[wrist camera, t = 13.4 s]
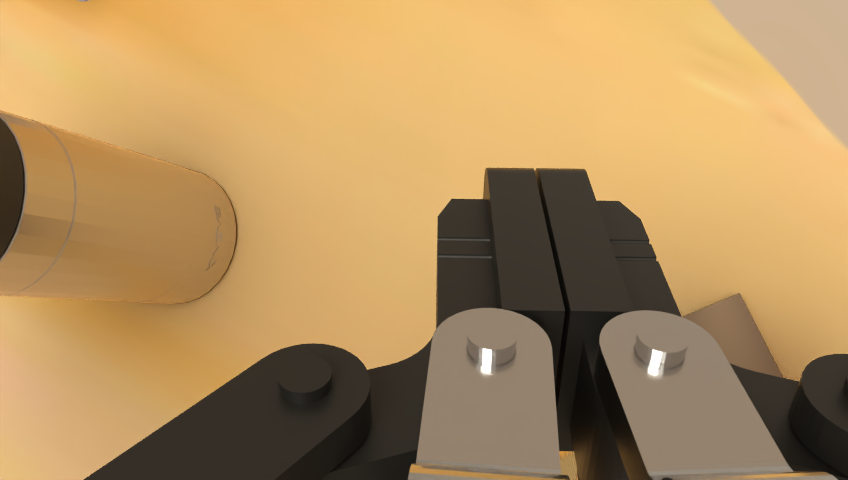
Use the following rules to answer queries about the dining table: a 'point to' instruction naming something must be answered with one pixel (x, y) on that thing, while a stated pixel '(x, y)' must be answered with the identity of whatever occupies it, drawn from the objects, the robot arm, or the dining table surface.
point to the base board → (736, 334)
